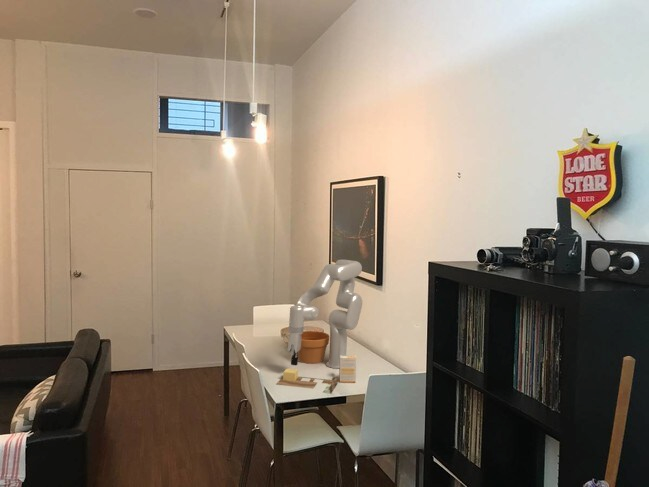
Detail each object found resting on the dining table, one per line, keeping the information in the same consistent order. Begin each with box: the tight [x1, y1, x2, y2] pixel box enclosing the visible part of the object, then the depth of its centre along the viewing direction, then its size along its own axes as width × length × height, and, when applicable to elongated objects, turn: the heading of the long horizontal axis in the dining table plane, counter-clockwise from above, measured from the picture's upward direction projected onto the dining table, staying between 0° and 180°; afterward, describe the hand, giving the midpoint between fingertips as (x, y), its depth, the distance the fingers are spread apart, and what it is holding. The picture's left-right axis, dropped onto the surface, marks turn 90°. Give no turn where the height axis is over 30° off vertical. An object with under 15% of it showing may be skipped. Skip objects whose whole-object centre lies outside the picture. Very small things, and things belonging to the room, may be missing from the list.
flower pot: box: [298, 330, 330, 365], centre depth 297 cm, size 21×21×15 cm
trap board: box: [275, 376, 339, 394], centre depth 254 cm, size 15×28×4 cm, turn 77°
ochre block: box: [282, 368, 299, 381], centre depth 258 cm, size 6×6×4 cm
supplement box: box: [338, 354, 357, 384], centre depth 262 cm, size 8×5×13 cm, turn 92°
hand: (294, 364), depth 266 cm, fingers closed
